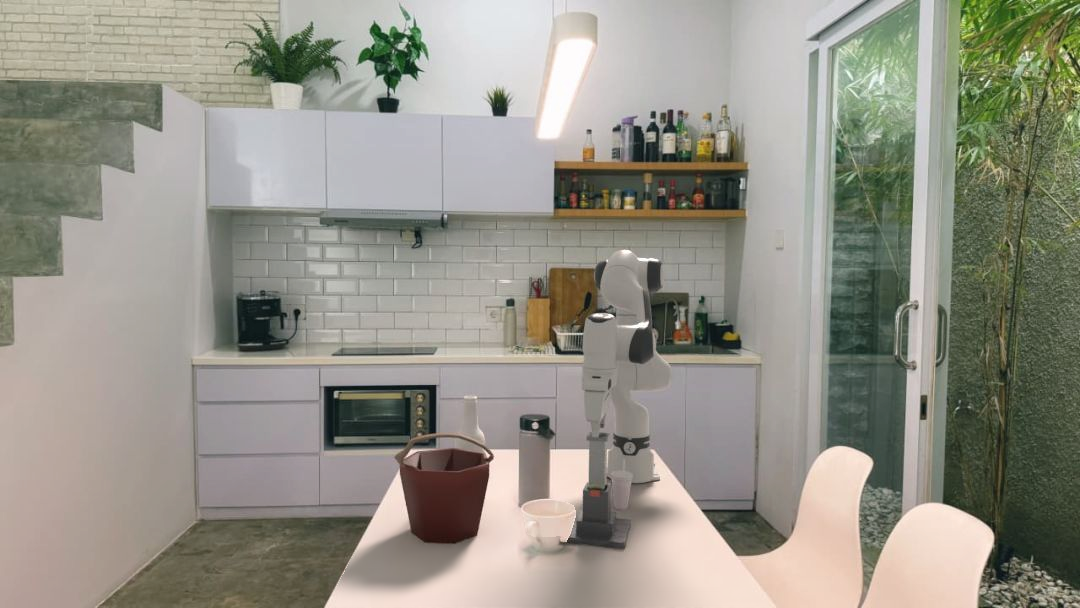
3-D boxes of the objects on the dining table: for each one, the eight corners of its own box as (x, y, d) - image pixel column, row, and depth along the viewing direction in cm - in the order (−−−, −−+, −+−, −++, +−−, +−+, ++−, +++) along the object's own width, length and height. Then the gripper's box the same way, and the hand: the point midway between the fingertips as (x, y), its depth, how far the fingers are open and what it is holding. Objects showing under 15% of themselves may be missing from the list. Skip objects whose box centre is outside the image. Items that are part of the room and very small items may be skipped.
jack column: (588, 500, 178) (589, 431, 177) (608, 502, 177) (609, 433, 176) (585, 506, 173) (586, 436, 172) (605, 508, 172) (607, 437, 171)
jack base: (571, 519, 185) (572, 474, 184) (630, 525, 181) (631, 479, 181) (559, 542, 169) (560, 493, 169) (624, 549, 166) (625, 499, 165)
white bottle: (484, 503, 197) (485, 399, 195) (453, 503, 196) (454, 399, 194) (484, 493, 205) (485, 393, 204) (455, 493, 205) (455, 393, 203)
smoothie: (631, 512, 191) (632, 462, 190) (608, 510, 192) (609, 461, 192) (633, 504, 197) (634, 456, 197) (610, 502, 199) (611, 454, 198)
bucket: (386, 546, 165) (386, 443, 164) (408, 513, 187) (408, 423, 186) (487, 549, 164) (488, 446, 163) (497, 516, 186) (498, 425, 185)
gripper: (593, 370, 184) (592, 421, 185) (580, 384, 164) (579, 441, 165) (616, 372, 182) (615, 423, 183) (606, 385, 163) (605, 443, 164)
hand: (598, 431), depth 174 cm, fingers open, 8 cm apart
